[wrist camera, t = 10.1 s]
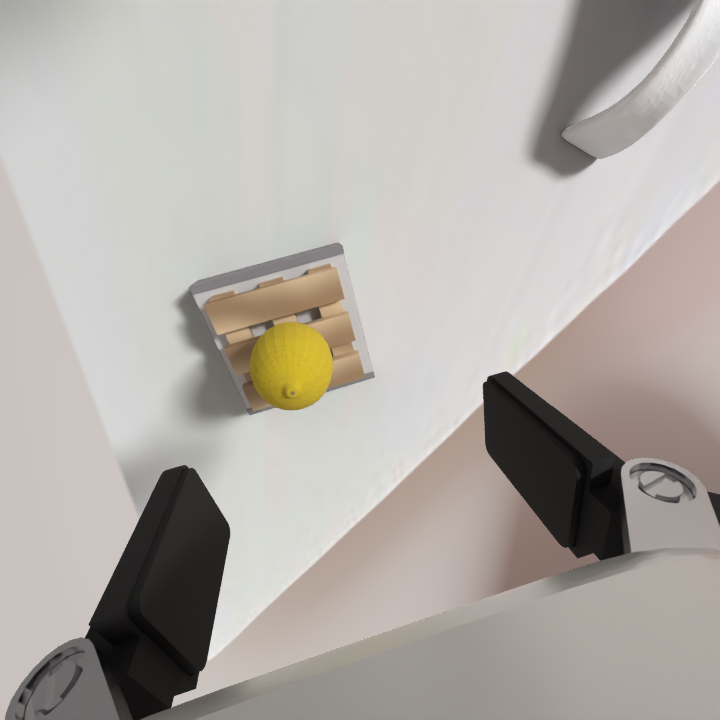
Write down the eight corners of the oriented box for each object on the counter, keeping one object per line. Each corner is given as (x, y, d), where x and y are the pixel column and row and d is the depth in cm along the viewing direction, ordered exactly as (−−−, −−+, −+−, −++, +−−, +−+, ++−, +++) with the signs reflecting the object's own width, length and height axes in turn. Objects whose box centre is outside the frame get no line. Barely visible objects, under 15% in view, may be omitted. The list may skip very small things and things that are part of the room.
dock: (197, 280, 27) (188, 287, 24) (338, 242, 28) (342, 245, 25) (252, 400, 32) (249, 415, 30) (369, 365, 33) (374, 377, 31)
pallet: (208, 296, 25) (202, 302, 23) (333, 262, 26) (336, 265, 24) (256, 402, 30) (253, 413, 28) (361, 370, 30) (365, 379, 29)
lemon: (290, 386, 28) (289, 447, 20) (240, 340, 25) (219, 391, 18) (341, 345, 27) (358, 394, 20) (294, 294, 24) (295, 328, 17)
